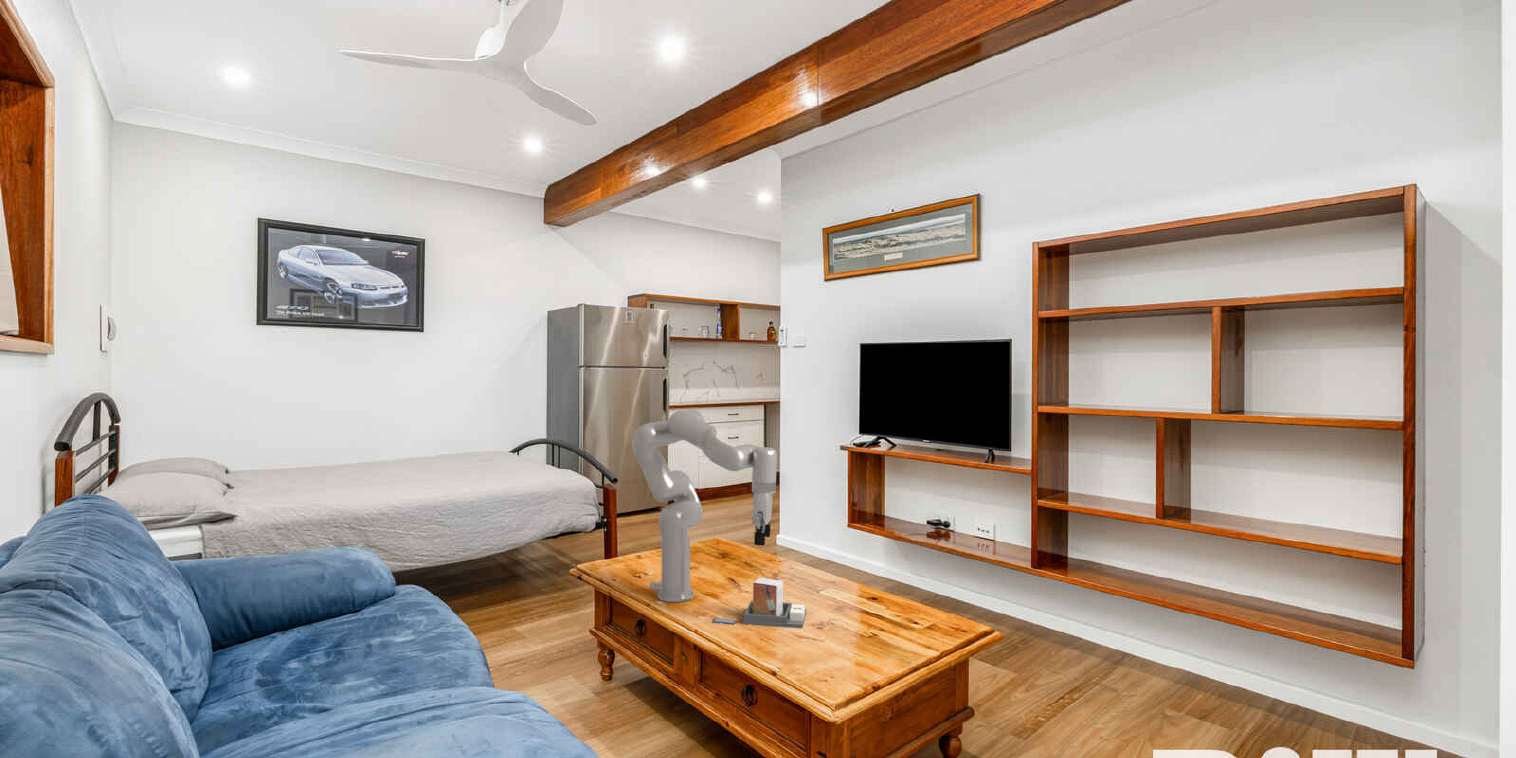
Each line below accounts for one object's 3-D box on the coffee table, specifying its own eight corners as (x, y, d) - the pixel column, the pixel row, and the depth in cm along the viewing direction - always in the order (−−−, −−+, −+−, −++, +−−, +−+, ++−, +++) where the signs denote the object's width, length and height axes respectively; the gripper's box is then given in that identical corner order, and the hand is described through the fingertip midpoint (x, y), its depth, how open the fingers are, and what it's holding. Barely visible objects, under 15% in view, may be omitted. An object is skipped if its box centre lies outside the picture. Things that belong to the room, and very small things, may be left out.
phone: (712, 624, 207) (712, 621, 207) (715, 620, 210) (715, 617, 210) (734, 626, 205) (734, 623, 205) (737, 622, 208) (737, 619, 208)
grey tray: (743, 624, 206) (743, 612, 205) (750, 608, 218) (750, 597, 218) (802, 628, 203) (802, 616, 202) (806, 612, 215) (806, 601, 215)
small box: (752, 615, 210) (752, 582, 209) (759, 609, 215) (759, 576, 214) (776, 619, 206) (776, 585, 206) (783, 613, 212) (783, 580, 211)
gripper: (757, 481, 222) (755, 532, 223) (746, 491, 205) (745, 547, 206) (779, 482, 221) (778, 534, 222) (771, 493, 204) (769, 549, 205)
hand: (762, 540), depth 214 cm, fingers open, 9 cm apart
